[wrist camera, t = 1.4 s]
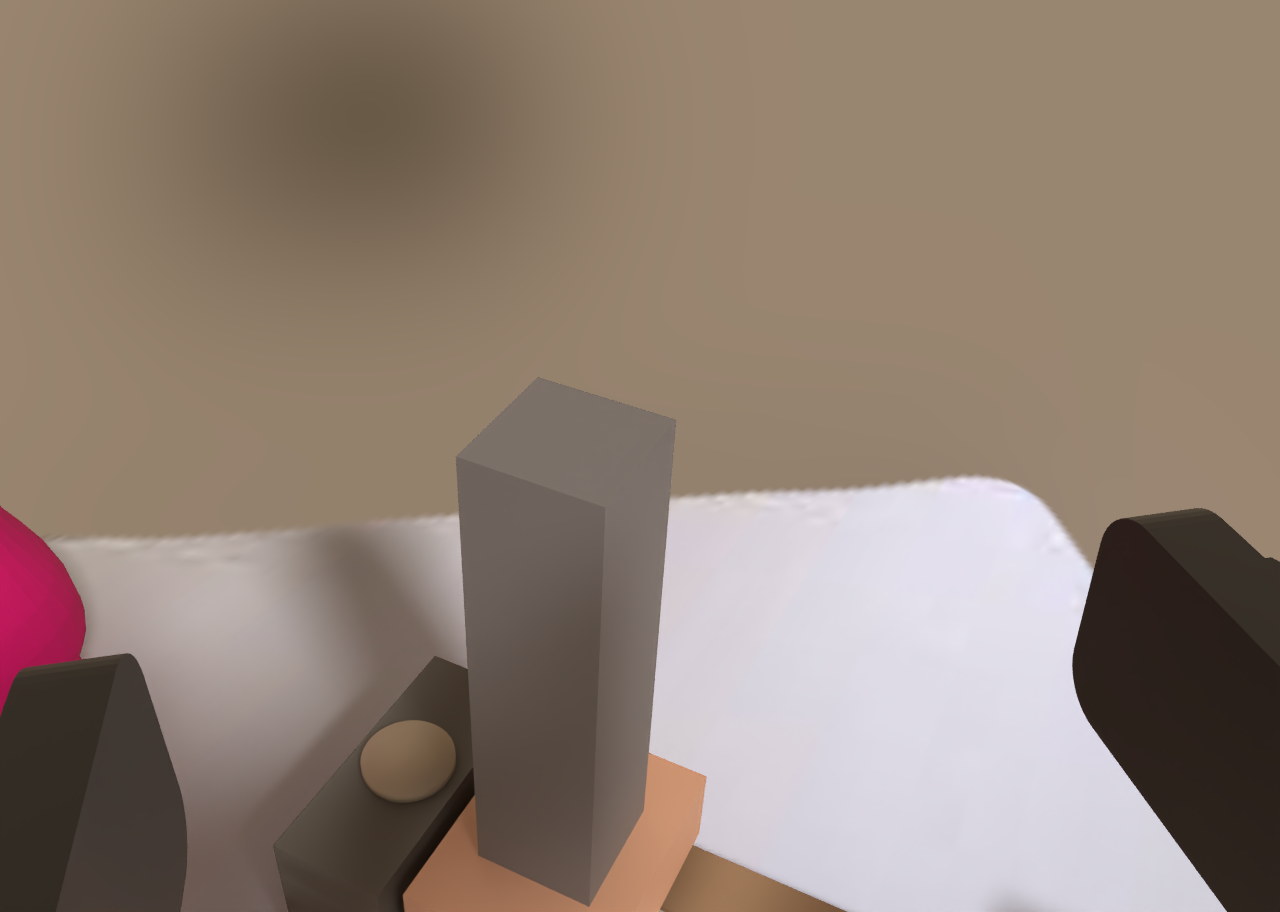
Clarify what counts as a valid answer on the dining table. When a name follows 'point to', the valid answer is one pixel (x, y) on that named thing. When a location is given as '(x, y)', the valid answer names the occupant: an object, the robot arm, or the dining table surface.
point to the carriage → (564, 666)
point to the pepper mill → (34, 605)
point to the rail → (445, 818)
